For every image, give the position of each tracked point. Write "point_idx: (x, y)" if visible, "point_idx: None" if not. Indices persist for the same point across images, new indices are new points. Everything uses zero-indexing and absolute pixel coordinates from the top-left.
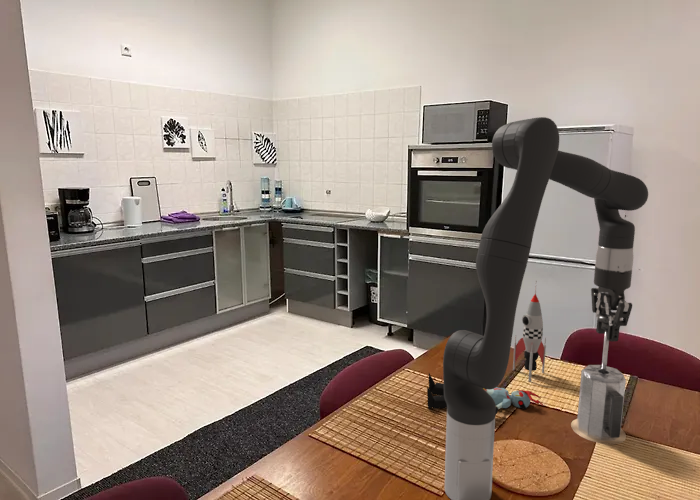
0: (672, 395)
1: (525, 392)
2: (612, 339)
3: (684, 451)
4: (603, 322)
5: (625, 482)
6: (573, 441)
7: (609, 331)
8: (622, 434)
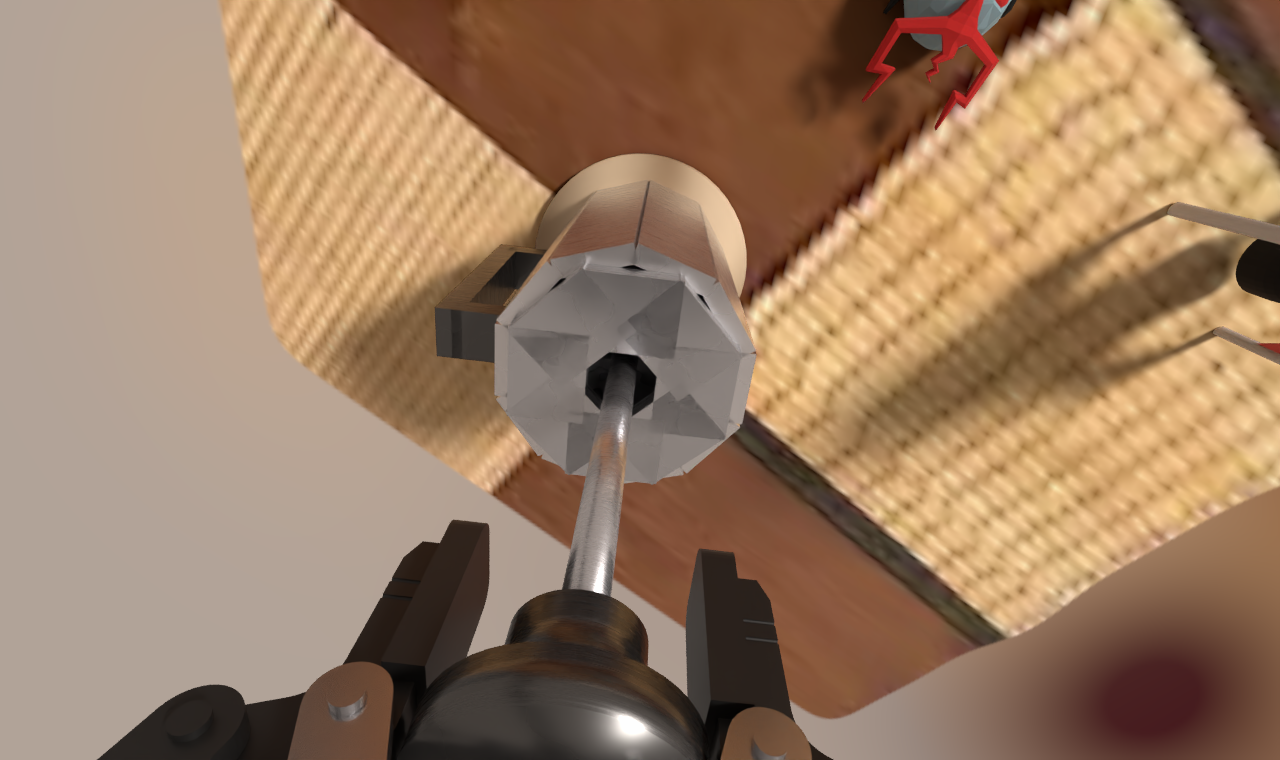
0: (827, 663)
1: (961, 6)
2: (417, 549)
3: (497, 472)
4: (470, 657)
5: (308, 157)
6: (585, 112)
7: (416, 598)
8: None
